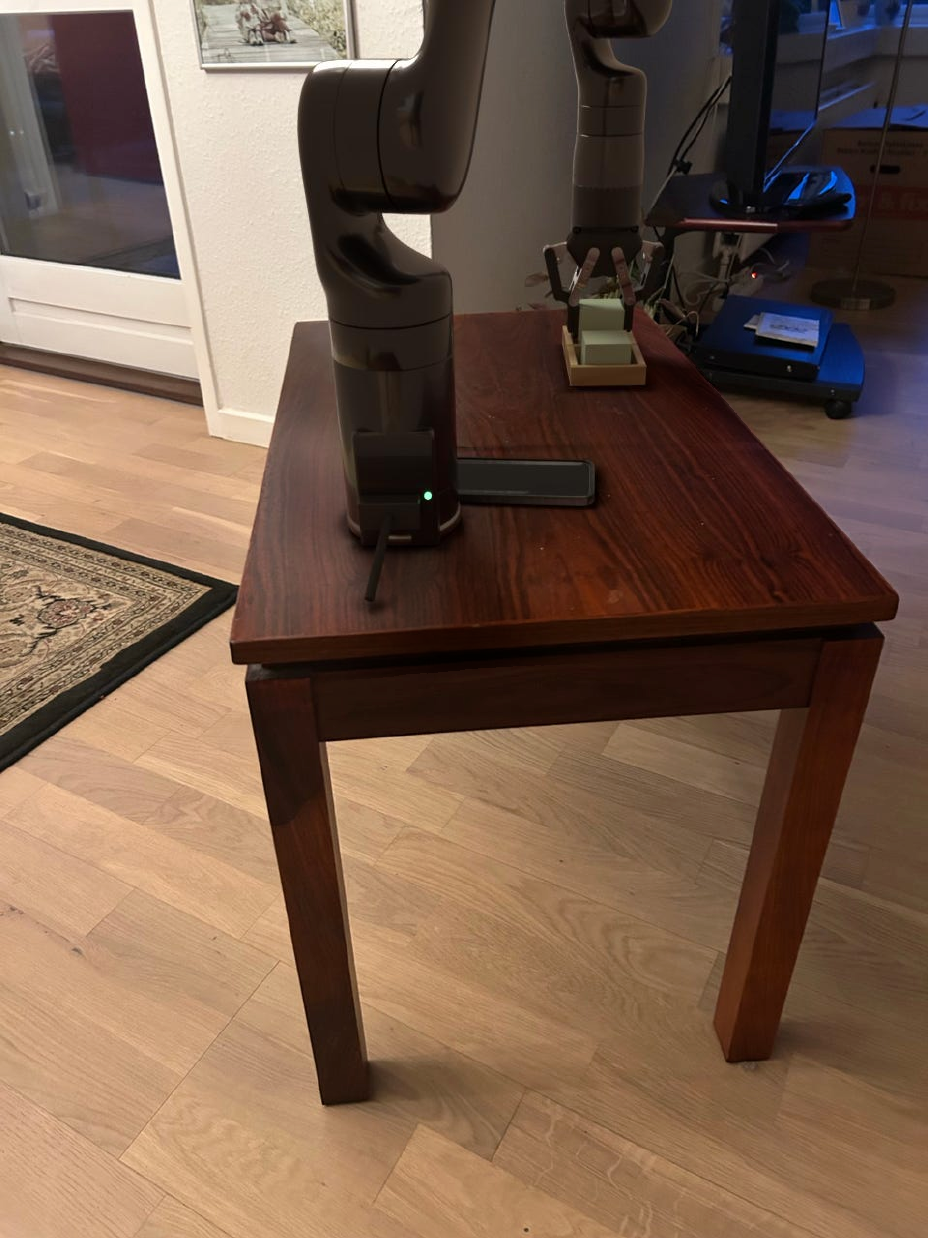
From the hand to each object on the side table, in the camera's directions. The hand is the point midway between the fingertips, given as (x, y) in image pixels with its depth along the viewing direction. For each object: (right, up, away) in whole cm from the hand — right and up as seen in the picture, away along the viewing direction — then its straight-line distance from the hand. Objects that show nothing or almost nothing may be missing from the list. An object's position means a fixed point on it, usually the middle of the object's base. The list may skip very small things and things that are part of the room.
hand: (598, 335), depth 112 cm
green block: (0, 0, 0) cm, 0 cm away
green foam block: (0, -6, -5) cm, 8 cm away
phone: (-12, -22, -27) cm, 37 cm away
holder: (0, -4, -2) cm, 4 cm away
